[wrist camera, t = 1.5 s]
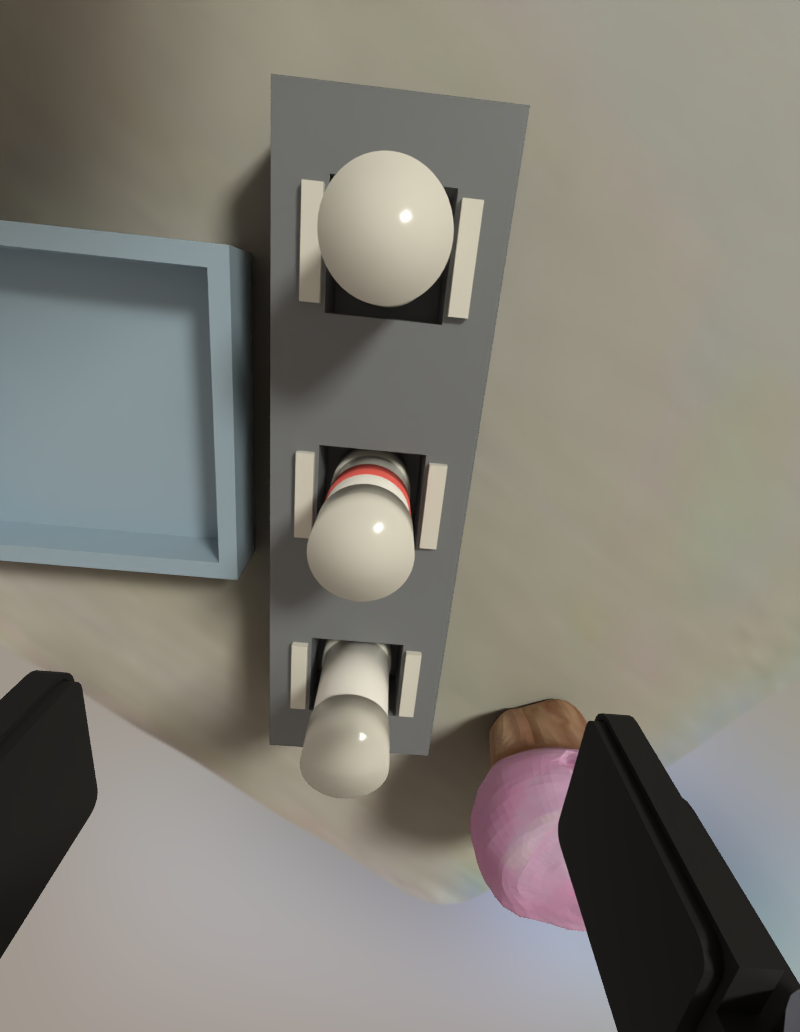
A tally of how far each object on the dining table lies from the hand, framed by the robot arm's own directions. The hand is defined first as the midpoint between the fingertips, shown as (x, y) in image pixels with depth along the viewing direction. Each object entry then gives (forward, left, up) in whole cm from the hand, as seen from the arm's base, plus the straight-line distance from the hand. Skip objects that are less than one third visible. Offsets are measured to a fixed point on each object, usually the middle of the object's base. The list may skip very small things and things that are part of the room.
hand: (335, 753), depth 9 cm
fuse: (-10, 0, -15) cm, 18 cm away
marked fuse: (-1, 0, -15) cm, 15 cm away
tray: (-3, -13, -16) cm, 21 cm away
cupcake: (+14, +10, -17) cm, 24 cm away
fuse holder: (-1, 0, -16) cm, 16 cm away
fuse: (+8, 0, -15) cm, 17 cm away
